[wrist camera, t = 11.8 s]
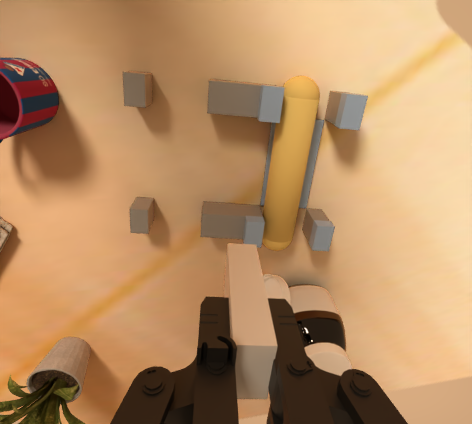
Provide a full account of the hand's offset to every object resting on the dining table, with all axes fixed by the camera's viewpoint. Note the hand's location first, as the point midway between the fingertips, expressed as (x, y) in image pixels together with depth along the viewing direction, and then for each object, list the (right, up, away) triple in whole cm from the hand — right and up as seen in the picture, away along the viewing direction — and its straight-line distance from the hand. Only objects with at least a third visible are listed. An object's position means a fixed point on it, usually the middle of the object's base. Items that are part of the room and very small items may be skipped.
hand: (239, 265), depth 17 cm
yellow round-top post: (+6, +8, +21) cm, 23 cm away
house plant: (-24, -17, +31) cm, 43 cm away
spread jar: (+7, -10, +30) cm, 32 cm away
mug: (-23, +14, +17) cm, 32 cm away
